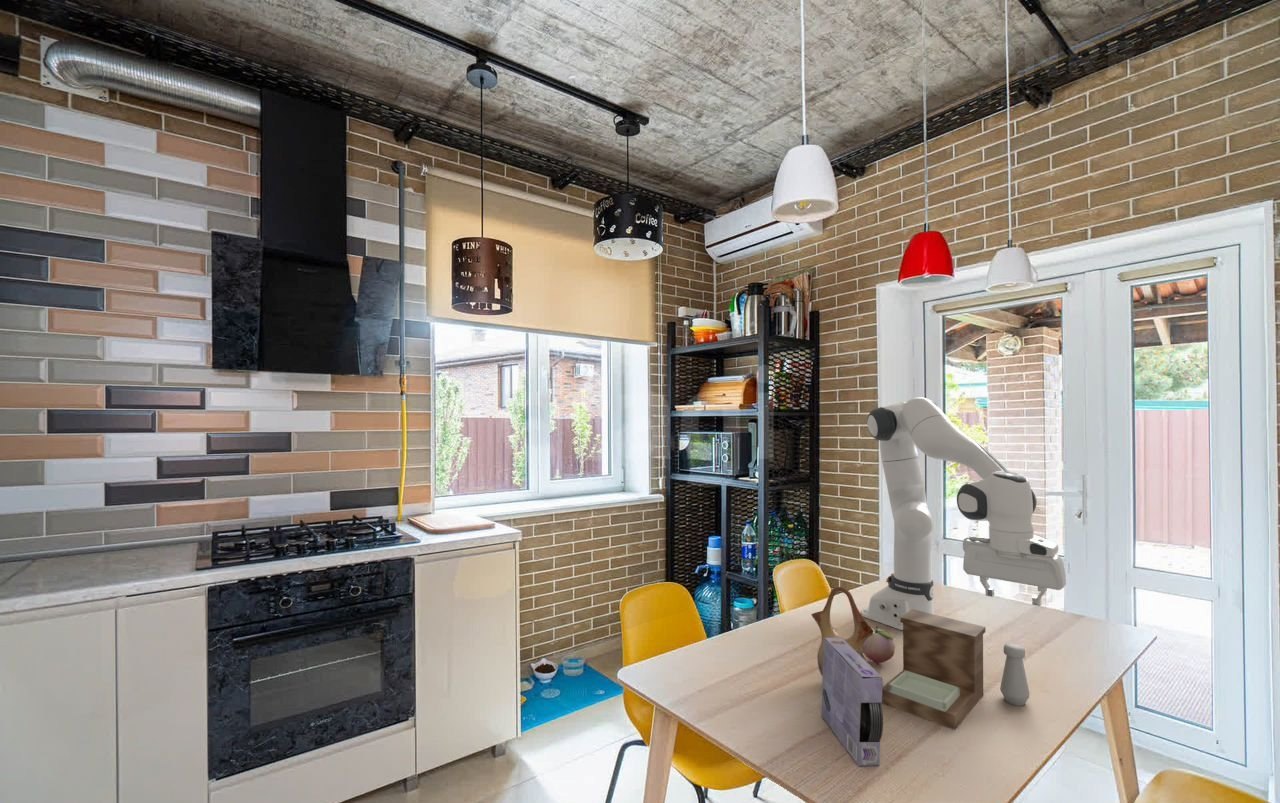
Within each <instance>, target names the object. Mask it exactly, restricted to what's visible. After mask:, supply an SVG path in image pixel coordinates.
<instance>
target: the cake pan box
mask: <svg viewBox="0 0 1280 803" xmlns="http://www.w3.org/2000/svg"><path fill="white" fill-rule="evenodd" d="M865 660H866V659H865ZM865 660H864V659H863V658H862V657H861V656H860V655H859V654H858V653H857V652H856V651H855V650H854V649H853V648H852V647H851V646H850V645H849V644H848V643H847V642H846V641H845V640H844V639H843V638H825V639H824V652H823V677H822V676H821V678H822V683H821V684H822V685H821V705H820V706H821V708H820V716H821V718H823V719H824V721H825V722H826V723H827V724H828V726H829V727H830V729H831V730H832V732H833V734H834V736H835V737H836V738H837V740H838V741H839V743H840V744H841V746H843V747H844V749H846V752H848V754H849V755H850V756H851V758H852V759H853V760H854V761H855V764H856V765H857V767H879V766H881V764H880V763H881V762H880V760H881V739H882V736H883V733H884V732H883V731H884V730H883V729H884V713H883V703H882V687H883V684H884V682H883V680H884V679H883V677H882V676H881V675H880V674H879V672H878V671H877V670H876V669H875V668H873V667H872V666H871V665H870V664H869V662H868V661H865Z"/></svg>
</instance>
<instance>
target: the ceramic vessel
mask: <svg viewBox="0 0 1280 803" xmlns="http://www.w3.org/2000/svg"><path fill="white" fill-rule="evenodd" d="M837 592H840V593H843V594H845V595H846V596H847V599H848V602H849V605H850V608H851V613H852V616H853V617H852V618H853V626H854V627H853V633H852V635H851V636H849V637H845V636H843V635H840V634H839V633H838V632H837V631H836V630H835V629H834V627H833V626H832V622H831V608H832V605H833V604H832V602H833V600H834V597H835V595H836V593H837ZM859 610H860V609H859V608H858V607H857V604H856V602H855V599H854V597H853V595H852V593H851V592H850V591H849V590H848V589H847V588H845V587H843V586H836V587H833V588H832V589H831V590H830V593H829V595H828V597H827V600H826V603H825V605H824V607H823V609H822V610H821V611H816V612H813V613H811V618H813V620H814V621H815V623H816V624H817V626H818V628H819V630H820V636H821V639H820V640H821V641H820V644H819V647H818V650H817V656H816V659H817V666H818V670H819V674H820V675H821V678H822V677H823V652H824V639H825V638H843V639H844V640H845V641H846V642H847V643H848V644H849V645H850V646H851V647H852V648H853V649H854V650H855V651H856V652H857V653H858V654H859V655H860V656H861V657H862V658H863V659H864V660H865V661H866V656H865V654H864V653H863V651H862V647H863V644H864V642H865V640H866V639H867V638H869V637H870V636H872V635H873V634H874V633H875V631H874V629H873V628H874V627H872V626H871V625H869V624H868V623H867V621H866V620H865V617H863V616H862V613H861V612H860V611H859ZM866 662H867V661H866Z"/></svg>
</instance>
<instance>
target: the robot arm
mask: <svg viewBox="0 0 1280 803" xmlns="http://www.w3.org/2000/svg"><path fill="white" fill-rule="evenodd" d="M866 423H867V428H868V431H869V434H870V435H871V437H872V438H873V439H875V440H876V441H879V450H880V459H881V463H882V467H883V468H882V469H883V473H884V474H883V475H884V479H885V482H886V483H885V484H886V488H887V492H888V499H889V503H890V508H891V513H892V518H893V522H894V528H893V530H894V532H893V536H894V537H893V539H894V540H893V541H894V542H893V573H891V574H890V575H889V576H887V578H886V579H885V580H886V583H887V586H885V587H883V588H881V589H879V590H878V591H876V592H875V593H873V594H872V595H871V597H870V599H869V604H868V605H867V606H865V607H864V608H863V609H861V615H862V617H863V618H866V619H869V620H872V621H875V622H877V623H881V624H882V625H886V626H889V627H892V628H894V629H897V630H899V631H903V623H902V622H900V617H902V616H903V615H905V614H906V613H908V612H909V611H911V610H912V609H913V610H918V611H922V612H926V613H930V614H934V615H936V614H935V607H934V602H933V599H934V595H935V592H934V591H935V589H934V588H935V587H934V580H933V579H932V578H933V573H932V572H933V571H932V570H933V568H932V567H933V565H932V561H933V559H932V558H933V557H932V555H933V546H934V545H933V542H934V518H933V515H932V514H931V512H930V510H929V506H928V500H927V495H926V489H925V482H924V481H925V480H924V476H923V471H922V467H921V462H920V456H919V453H918V449H919V450H920V451H921V452H922V453H923V454H924V455H926V456H927V457H929V458H932V459H936V460H940V461H941V460H942V461H946V462H952V463H955V464H961V465H963V466H966V467H967V468H970V469H971V470H972V471H974V472H975V473H976V474H977V475H978V476H979V478H981V480H977V481H973V482H969V483H965V484H962V486H960V487H959V489H958V491H957V494H956V504H957V508H958V510H959V513H961V514H962V515H963V517H965V518H966V519H968V520H970V521H978V522H985V521H987V522H988V524H989V525H988V526H989V527H988V537H978V536H972V535H971V536H968V537H965V538H964V539H963V541H962V550H963V552H964V555H963V564H962V569H963V571H964V572H965V573H966V574H967V575H969V576H970V575H971V576H977V577H979V582H980V583H981V585H982V586H983V588H984V589H985V592H984V593H985V596H986V597H992V598H993V597H994V596H995V588H994V587H991V586H990V584H989V582H988V581H989V579H994V580H999V581H1004V582H1011V583H1017V584H1021V585H1027V586H1031V587H1032V586H1033V587H1037V591H1038V592H1040V593H1039V594H1038V595H1033V596H1032V597H1031V601H1032V606H1037V607H1041V606H1042V599H1043V596H1044V595H1045V593H1046V592H1047V591H1048V589H1049V590H1055V591H1061V590H1063V589H1064V588H1065V587H1066V585H1067V578H1066V577H1067V576H1066V571H1065V570H1066V569H1065V565H1064V561H1063V559H1062V558H1061V556H1059V555H1058V551H1059V545H1058V544H1057V543H1056V542H1053V541H1051V540H1048V539H1046V538H1043V537H1040V536H1037V535H1036V534H1034V532H1035V531H1034V527H1033V523H1032V518H1033V514H1034V512H1035V510H1036V508H1037V496H1036V494H1035V492H1034V491H1033V489H1032V487H1031V485H1030V481H1029V479H1028V477H1026V476H1024V475H1023V474H1021V473H1017V472H1014V471H1009V470H1008V469H1007V468H1006V467H1005V466H1004V465H1003V464H1002V463H1001V462H1000V461H998V459H997V458H996V457H995V456H993V455H992V454H991V453H990V451H989V450H987V449H986V448H985V447H984V446H983V445H982V444H980V443H979V442H978V441H976V440H975V439H973V438H972V437H969V436H968V435H967V434H965V433H964V432H962V431H961V430H960V429H959V428H958V427H957V426H955V425H954V424H953V422H951V420H950V419H949V418H948V417H947V415H946V414H945V413H944V412H943V411H942V410H941V407H940V406H939V405H938V403H937V402H935V401H934V400H931V399H928V398H926V397H922V396H921V397H914V398H912V399H909V400H907V401H903V402H899V403H896V404H890V405H887V406H884V407H883V406H882V407H881V406H879V407H877V408H875V409H873V410H871V411H870V412H869V413H868V416H867V418H866ZM917 448H918V449H917Z"/></svg>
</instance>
